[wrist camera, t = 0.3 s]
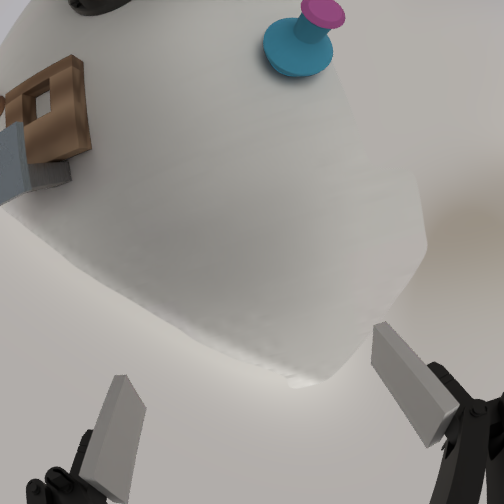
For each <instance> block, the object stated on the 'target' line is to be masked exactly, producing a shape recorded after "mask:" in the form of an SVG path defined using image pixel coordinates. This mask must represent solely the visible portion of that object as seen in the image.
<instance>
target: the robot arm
mask: <svg viewBox="0 0 504 504" xmlns="http://www.w3.org/2000/svg"><path fill="white" fill-rule="evenodd" d="M129 1H130V0H68V3H69V5H70V6H71V7H72V8H73V9H74V10H75V11H76V12H77V13H79V14H81V15H86V16H92V15H99V14H103V13H106V12H109V11H112V10H114V9H116V8H118V7H120V6H122V5H124V4H126V3H127V2H129ZM371 364H372V366H373V368H374V369H375V370H376V372H377V373H378V375H379V376H380V378H381V379H382V381H383V382H384V384H385V385H386V387H387V388H388V390H389V391H390V393H391V394H392V396H393V397H394V399H395V400H396V402H397V403H398V405H399V406H400V408H401V409H402V411H403V412H404V414H405V415H406V417H407V418H408V420H409V422H410V423H411V424H412V426H413V428H414V429H415V431H416V432H417V434H418V435H419V437H420V439H421V440H422V442H423V443H424V445H425V447H426V448H429V447H430V446H432V445H434V444H436V443H437V442H439V441H440V440H441V438H442V437H443V435H444V434H445V436H446V437H447V440H446V442H445V443H444V445H443V446H442V449H441V450H443V449H444V448H445V449H444V454H443V458H442V462H441V467H440V470H439V474H438V478H437V481H436V485H435V488H434V491H433V494H432V497H431V500H430V503H429V504H478V503H479V499H480V494H481V490H482V485H483V479H484V474H485V468H486V483H487V504H504V392H503V394H502V396H501V397H499V398H497V399H494V400H491V401H488V402H485V401H484V400H480V399H473V398H472V397H471V396H470V395H469V394H468V393H467V392H466V391H465V389H464V388H463V387H462V386H461V385H460V384H459V383H458V382H457V381H456V380H455V379H454V377H453V376H452V375H451V374H449V372H448V371H447V370H446V369H445V368H444V366H442V365H440V364H438V363H436V362H432V363H430V364H428V365H426V364H425V363H424V362H423V361H422V360H421V359H420V358H419V357H418V355H417V354H416V353H415V352H414V351H413V350H412V349H411V348H410V347H409V345H408V344H407V343H406V342H405V341H404V340H403V339H402V338H401V337H400V336H399V335H398V334H397V333H396V331H394V329H393V328H392V327H391V326H390V325H389V324H388V323H387V322H386V321H385V322H382V323H379V324H376V325H374V328H373V345H372V356H371ZM145 412H146V407H145V405H144V403H143V402H142V400H141V398H140V397H139V395H138V394H137V392H136V390H135V389H134V387H133V385H132V383H131V382H130V380H129V378H128V377H127V375H115V376H114V378H113V381H112V383H111V386H110V388H109V391H108V393H107V396H106V398H105V401H104V403H103V406H102V409H101V411H100V414H99V417H98V419H97V422H96V425H95V428H94V430H87V432H86V433H85V434H84V435H83V436H82V439H81V442H80V444H79V445H80V446H79V447H78V450H77V453H76V456H75V458H74V461H73V464H72V467H71V470H70V473H67V472H66V471H65V470H64V469H62V468H61V467H52V468H51V469H49V470H48V471H47V473H46V475H45V483H46V484H45V483H43V482H42V481H41V480H39V479H32V480H30V481H29V482H28V484H27V486H26V498H27V504H107V502H106V500H107V498H109V499H110V500H112V501H113V502H116V503H122V504H128V499H129V493H130V487H131V481H132V475H133V469H134V465H135V459H136V454H137V449H138V444H139V439H140V435H141V430H142V426H143V421H144V416H145Z"/></svg>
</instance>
